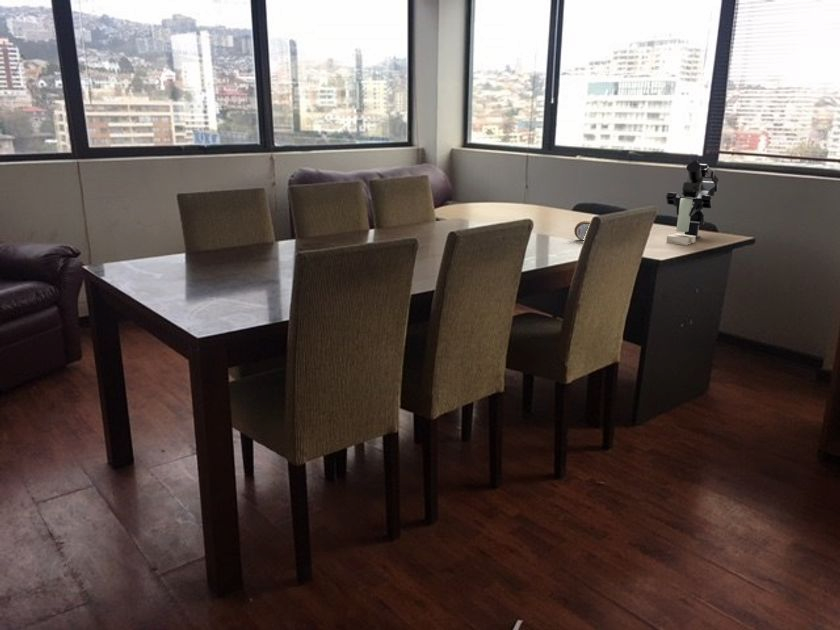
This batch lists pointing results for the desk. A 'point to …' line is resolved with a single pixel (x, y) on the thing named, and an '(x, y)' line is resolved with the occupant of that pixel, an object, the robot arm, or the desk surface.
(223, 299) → the desk surface
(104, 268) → the desk surface
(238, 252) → the desk surface
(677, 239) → the plinth
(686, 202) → the post
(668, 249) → the desk surface
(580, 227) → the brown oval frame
